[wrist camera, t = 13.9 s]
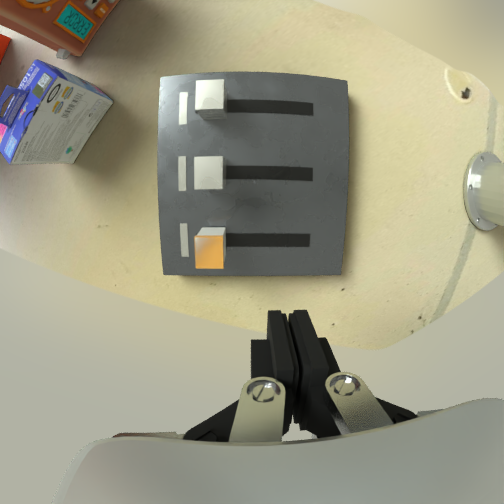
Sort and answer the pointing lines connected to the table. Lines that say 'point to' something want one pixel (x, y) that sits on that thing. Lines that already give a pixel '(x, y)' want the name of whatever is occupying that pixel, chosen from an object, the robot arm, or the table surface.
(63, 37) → the control panel
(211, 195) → the breaker board
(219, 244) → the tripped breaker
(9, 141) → the ink cartridge box
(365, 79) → the table surface
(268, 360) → the robot arm
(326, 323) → the table surface
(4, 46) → the file binder
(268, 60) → the table surface
